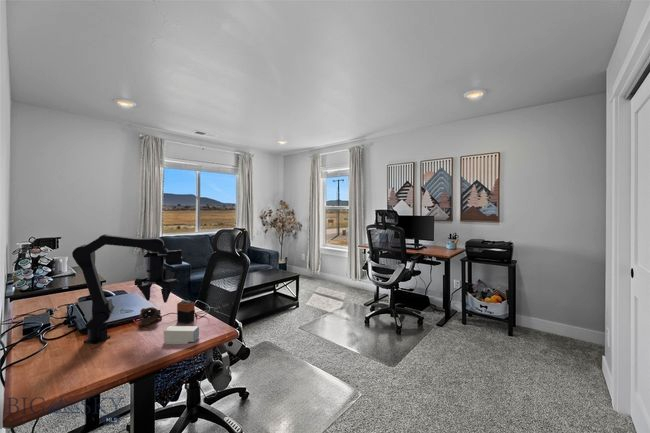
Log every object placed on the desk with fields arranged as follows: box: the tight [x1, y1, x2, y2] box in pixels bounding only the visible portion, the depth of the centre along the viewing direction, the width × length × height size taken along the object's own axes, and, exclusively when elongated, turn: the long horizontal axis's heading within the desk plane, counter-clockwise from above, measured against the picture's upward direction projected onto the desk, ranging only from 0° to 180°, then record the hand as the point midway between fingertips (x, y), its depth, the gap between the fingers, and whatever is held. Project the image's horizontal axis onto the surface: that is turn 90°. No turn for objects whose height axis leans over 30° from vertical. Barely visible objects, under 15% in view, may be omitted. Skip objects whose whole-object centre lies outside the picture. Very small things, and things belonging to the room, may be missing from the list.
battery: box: [176, 299, 195, 325], centre depth 140 cm, size 4×7×10 cm, turn 69°
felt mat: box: [163, 342, 189, 345], centre depth 121 cm, size 9×7×1 cm
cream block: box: [163, 325, 200, 343], centre depth 121 cm, size 4×4×12 cm
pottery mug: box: [138, 306, 163, 327], centre depth 137 cm, size 12×10×8 cm
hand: (156, 301), depth 129 cm, fingers open, 9 cm apart
